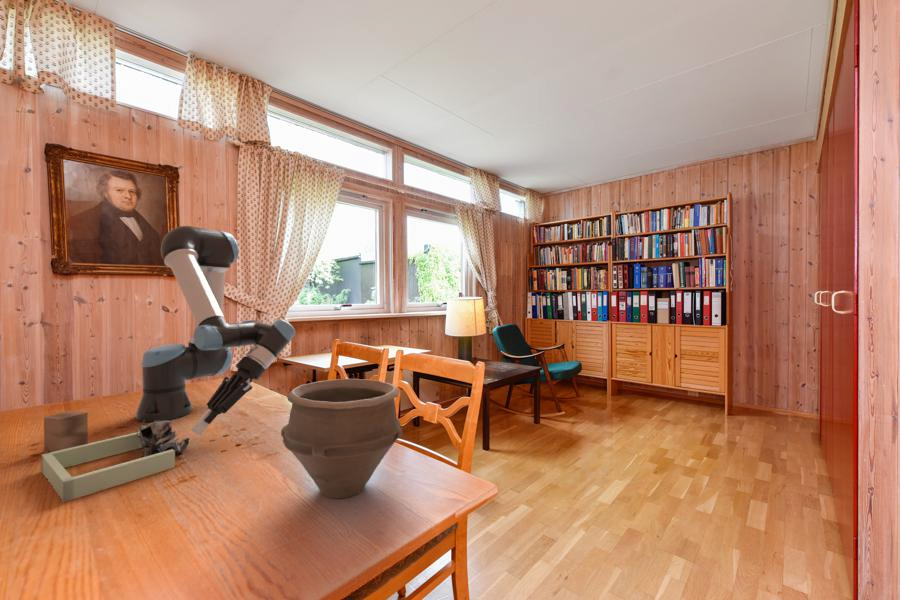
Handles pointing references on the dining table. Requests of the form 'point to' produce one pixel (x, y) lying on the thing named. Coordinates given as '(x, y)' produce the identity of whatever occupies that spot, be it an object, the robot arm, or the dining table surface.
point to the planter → (341, 431)
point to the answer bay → (106, 476)
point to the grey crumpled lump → (159, 438)
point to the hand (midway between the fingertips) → (195, 432)
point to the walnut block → (65, 430)
